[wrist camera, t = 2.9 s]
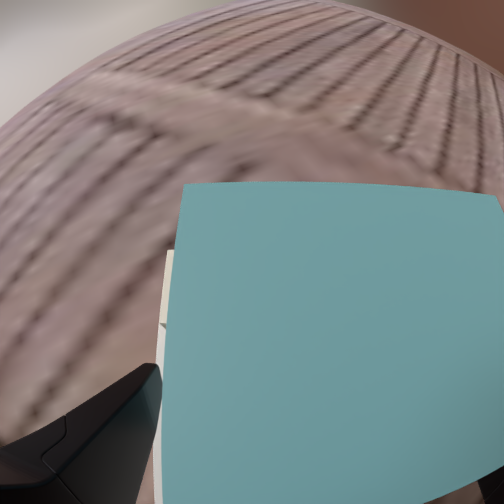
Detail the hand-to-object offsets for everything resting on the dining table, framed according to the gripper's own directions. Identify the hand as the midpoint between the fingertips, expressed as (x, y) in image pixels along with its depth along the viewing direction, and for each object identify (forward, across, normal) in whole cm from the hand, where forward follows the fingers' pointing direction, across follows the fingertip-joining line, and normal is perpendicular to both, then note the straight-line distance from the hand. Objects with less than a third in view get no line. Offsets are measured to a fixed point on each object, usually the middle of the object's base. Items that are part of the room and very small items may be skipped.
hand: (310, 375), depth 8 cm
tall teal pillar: (+5, 0, +5) cm, 7 cm away
